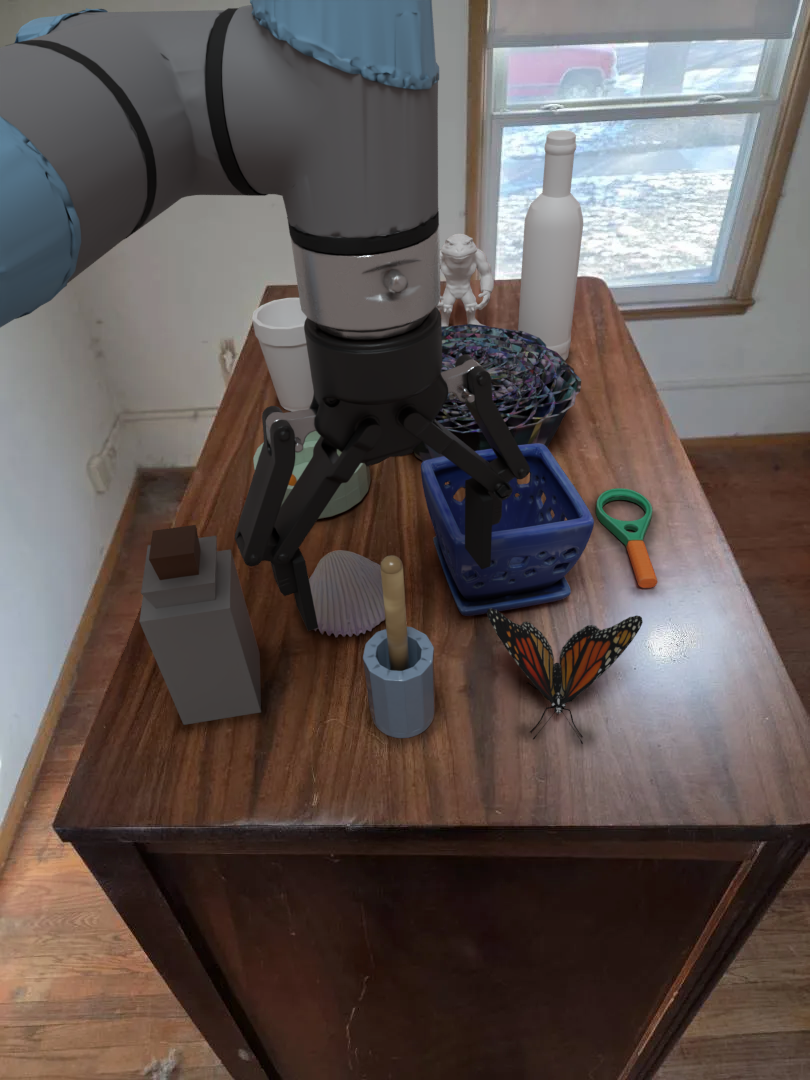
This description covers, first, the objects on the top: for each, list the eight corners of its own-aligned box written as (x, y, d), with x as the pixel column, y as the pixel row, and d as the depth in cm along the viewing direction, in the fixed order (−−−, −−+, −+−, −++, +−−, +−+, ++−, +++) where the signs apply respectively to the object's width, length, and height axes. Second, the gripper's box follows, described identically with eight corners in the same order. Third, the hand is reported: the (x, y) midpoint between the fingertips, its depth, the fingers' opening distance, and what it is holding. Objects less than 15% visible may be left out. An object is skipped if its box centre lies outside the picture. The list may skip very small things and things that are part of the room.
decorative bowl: (485, 370, 111) (484, 306, 105) (620, 441, 92) (628, 368, 86) (338, 426, 102) (327, 359, 95) (456, 518, 83) (452, 442, 76)
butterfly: (480, 743, 62) (483, 668, 55) (486, 652, 69) (489, 576, 62) (629, 756, 60) (651, 681, 53) (619, 662, 67) (637, 586, 60)
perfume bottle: (261, 712, 65) (217, 565, 53) (183, 725, 64) (121, 579, 52) (259, 653, 70) (219, 507, 58) (187, 664, 69) (131, 519, 57)
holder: (366, 736, 62) (358, 678, 57) (375, 683, 67) (368, 624, 61) (432, 740, 62) (430, 682, 57) (437, 686, 66) (435, 627, 61)
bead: (277, 494, 87) (274, 479, 86) (282, 483, 89) (279, 468, 87) (295, 495, 87) (293, 480, 85) (299, 483, 88) (297, 468, 87)
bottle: (527, 338, 115) (542, 123, 95) (576, 348, 112) (602, 128, 92) (507, 361, 110) (519, 139, 90) (557, 372, 107) (581, 144, 86)
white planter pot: (270, 386, 107) (254, 300, 99) (333, 380, 108) (323, 294, 99) (268, 421, 100) (250, 332, 92) (336, 414, 101) (325, 325, 92)
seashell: (372, 528, 78) (409, 571, 70) (379, 571, 81) (415, 617, 72) (279, 556, 75) (307, 604, 67) (289, 600, 78) (317, 651, 69)
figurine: (490, 319, 120) (494, 225, 110) (494, 338, 115) (497, 241, 105) (424, 322, 121) (422, 228, 111) (425, 340, 116) (422, 244, 106)
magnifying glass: (590, 496, 85) (592, 485, 84) (643, 495, 85) (646, 483, 84) (615, 590, 74) (618, 578, 73) (676, 590, 73) (680, 578, 72)
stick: (392, 712, 63) (378, 565, 51) (394, 697, 64) (381, 550, 53) (410, 713, 63) (400, 566, 51) (412, 698, 64) (403, 551, 52)
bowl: (248, 521, 84) (240, 487, 81) (275, 454, 94) (269, 421, 91) (361, 525, 83) (357, 491, 80) (377, 457, 93) (374, 424, 89)
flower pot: (536, 526, 82) (545, 436, 74) (583, 612, 72) (599, 519, 64) (420, 547, 80) (417, 457, 72) (452, 637, 70) (452, 545, 62)
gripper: (150, 400, 34) (242, 684, 48) (606, 285, 40) (568, 564, 55) (127, 334, 39) (216, 608, 53) (534, 243, 46) (517, 507, 60)
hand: (395, 586), depth 54 cm, fingers open, 13 cm apart
